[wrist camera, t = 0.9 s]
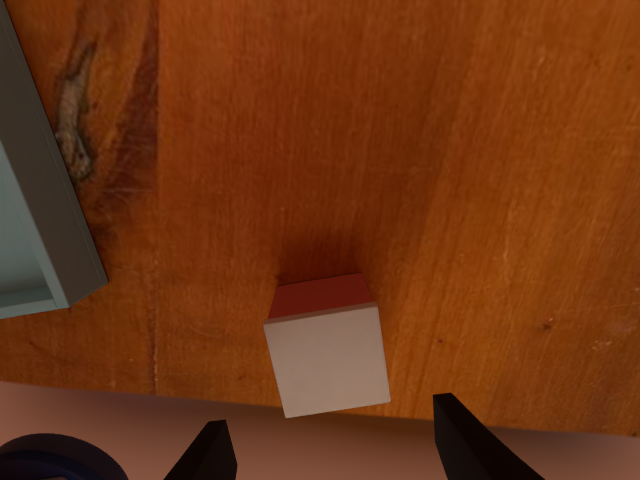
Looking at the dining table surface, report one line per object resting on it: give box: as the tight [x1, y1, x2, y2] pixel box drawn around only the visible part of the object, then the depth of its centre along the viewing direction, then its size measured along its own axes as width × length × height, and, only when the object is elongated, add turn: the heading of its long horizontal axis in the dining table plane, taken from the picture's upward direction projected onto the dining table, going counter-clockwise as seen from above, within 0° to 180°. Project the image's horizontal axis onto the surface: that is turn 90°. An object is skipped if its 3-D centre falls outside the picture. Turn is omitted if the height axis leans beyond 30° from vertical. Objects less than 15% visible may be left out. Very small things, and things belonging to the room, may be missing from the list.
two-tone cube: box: [263, 273, 391, 418], centre depth 17 cm, size 5×5×4 cm
